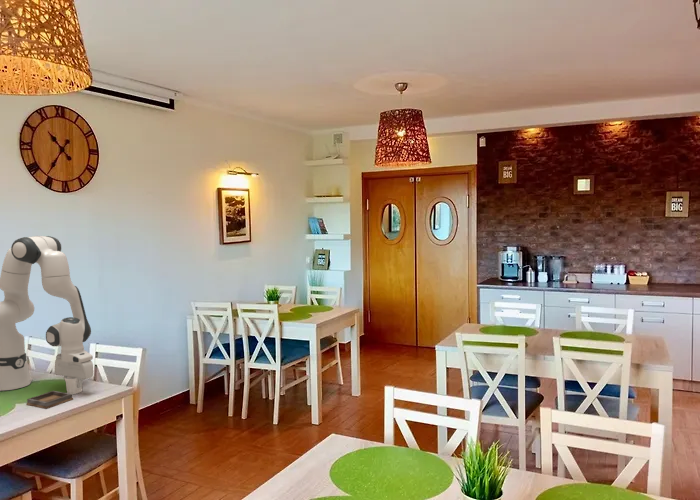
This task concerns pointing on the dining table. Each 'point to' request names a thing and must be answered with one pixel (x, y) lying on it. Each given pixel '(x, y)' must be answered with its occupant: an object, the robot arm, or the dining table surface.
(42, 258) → the robot arm
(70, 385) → the white cup
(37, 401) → the tray
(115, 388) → the dining table surface
